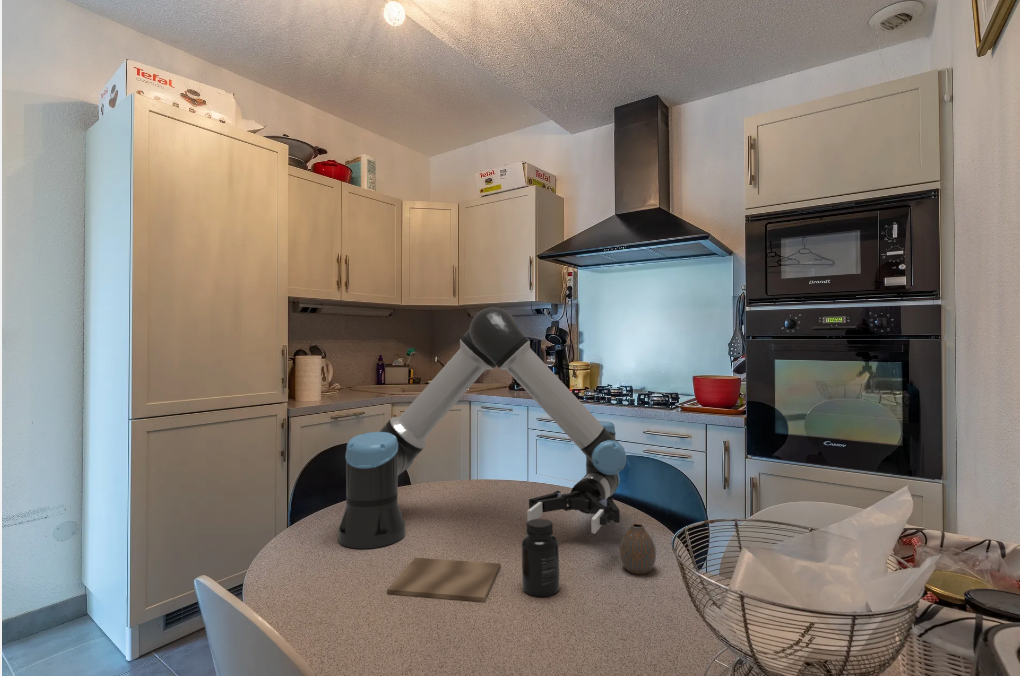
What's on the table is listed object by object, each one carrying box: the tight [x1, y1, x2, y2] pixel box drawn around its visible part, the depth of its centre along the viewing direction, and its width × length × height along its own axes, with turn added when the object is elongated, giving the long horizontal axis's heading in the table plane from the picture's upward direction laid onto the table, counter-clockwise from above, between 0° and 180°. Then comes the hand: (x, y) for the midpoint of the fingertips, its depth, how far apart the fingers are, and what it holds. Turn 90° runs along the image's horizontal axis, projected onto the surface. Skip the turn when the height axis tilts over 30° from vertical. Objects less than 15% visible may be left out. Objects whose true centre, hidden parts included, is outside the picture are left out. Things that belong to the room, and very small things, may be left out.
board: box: [386, 557, 502, 603], centre depth 96 cm, size 18×14×1 cm
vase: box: [619, 522, 657, 575], centre depth 100 cm, size 7×7×9 cm
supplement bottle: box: [521, 518, 561, 598], centre depth 93 cm, size 7×7×12 cm
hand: (560, 521), depth 102 cm, fingers open, 13 cm apart
